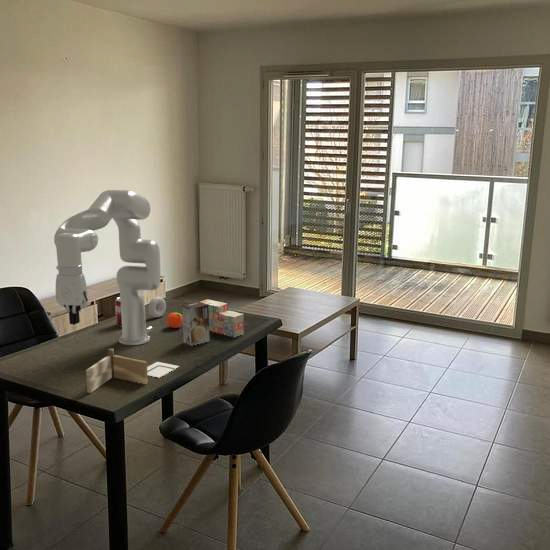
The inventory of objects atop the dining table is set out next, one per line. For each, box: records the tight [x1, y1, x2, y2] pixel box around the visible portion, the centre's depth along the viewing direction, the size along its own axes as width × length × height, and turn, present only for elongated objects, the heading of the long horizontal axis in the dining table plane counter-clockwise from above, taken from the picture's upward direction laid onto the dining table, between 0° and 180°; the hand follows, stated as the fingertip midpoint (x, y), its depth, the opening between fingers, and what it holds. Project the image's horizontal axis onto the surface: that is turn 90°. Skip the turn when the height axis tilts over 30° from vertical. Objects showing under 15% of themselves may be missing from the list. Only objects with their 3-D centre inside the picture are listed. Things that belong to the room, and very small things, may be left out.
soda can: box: [114, 297, 122, 328], centre depth 280 cm, size 7×7×12 cm
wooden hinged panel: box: [107, 348, 149, 385], centre depth 219 cm, size 2×16×10 cm, turn 63°
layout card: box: [147, 361, 180, 379], centre depth 229 cm, size 12×10×1 cm
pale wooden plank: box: [85, 355, 113, 394], centre depth 214 cm, size 14×1×8 cm, turn 165°
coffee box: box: [181, 301, 211, 347], centre depth 257 cm, size 9×6×16 cm
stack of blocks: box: [199, 299, 245, 339], centre depth 271 cm, size 21×6×12 cm, turn 51°
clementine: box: [166, 311, 183, 329], centre depth 277 cm, size 8×7×7 cm
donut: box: [148, 296, 167, 319], centre depth 292 cm, size 10×4×10 cm, turn 145°
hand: (74, 323), depth 212 cm, fingers closed
